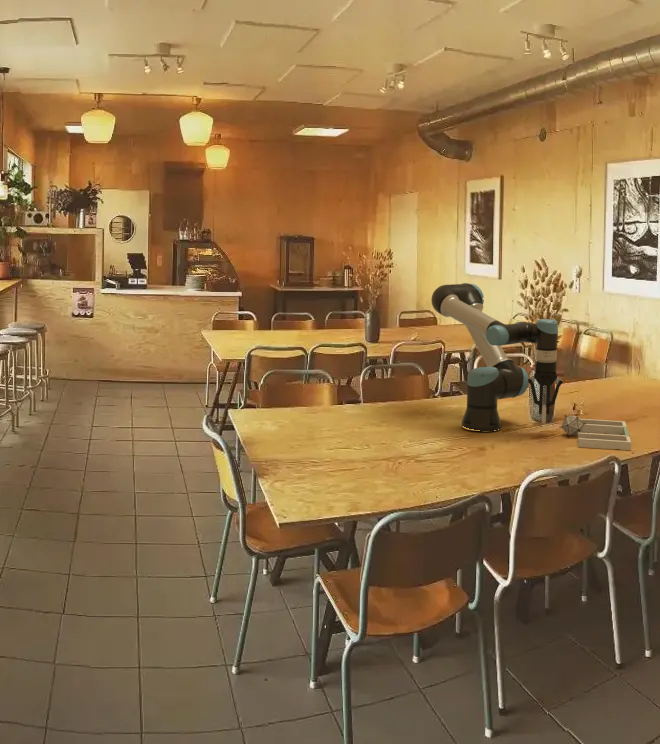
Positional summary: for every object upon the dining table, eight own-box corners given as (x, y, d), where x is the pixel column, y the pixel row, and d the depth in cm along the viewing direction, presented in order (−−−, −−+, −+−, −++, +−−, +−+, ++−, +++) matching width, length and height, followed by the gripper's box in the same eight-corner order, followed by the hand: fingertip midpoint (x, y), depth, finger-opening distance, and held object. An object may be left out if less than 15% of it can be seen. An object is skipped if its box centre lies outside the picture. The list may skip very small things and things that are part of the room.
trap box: (578, 446, 292) (578, 438, 291) (576, 426, 322) (577, 418, 322) (630, 450, 287) (631, 442, 287) (624, 428, 317) (625, 421, 317)
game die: (576, 446, 307) (587, 429, 300) (554, 437, 308) (565, 420, 301) (579, 430, 313) (590, 413, 306) (558, 421, 314) (568, 404, 307)
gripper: (527, 361, 304) (525, 423, 308) (564, 363, 300) (561, 425, 304) (528, 358, 311) (526, 419, 315) (564, 360, 307) (561, 421, 311)
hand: (543, 422), depth 309 cm, fingers closed
